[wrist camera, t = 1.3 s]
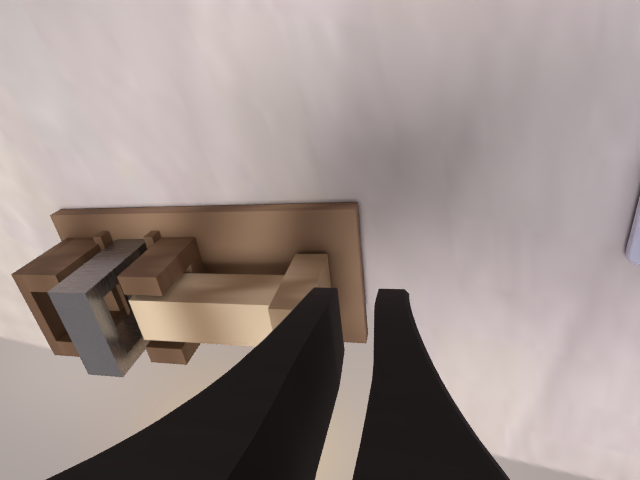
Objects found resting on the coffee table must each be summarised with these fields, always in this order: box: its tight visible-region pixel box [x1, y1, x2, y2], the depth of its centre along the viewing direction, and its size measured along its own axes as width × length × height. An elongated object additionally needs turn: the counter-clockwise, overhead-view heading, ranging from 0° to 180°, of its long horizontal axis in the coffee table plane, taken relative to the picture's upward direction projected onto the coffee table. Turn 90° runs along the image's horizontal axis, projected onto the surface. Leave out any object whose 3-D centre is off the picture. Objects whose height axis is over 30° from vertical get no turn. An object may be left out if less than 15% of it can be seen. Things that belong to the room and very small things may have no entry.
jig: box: [11, 202, 368, 365], centre depth 22 cm, size 17×8×5 cm, turn 97°
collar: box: [47, 239, 151, 377], centre depth 22 cm, size 2×5×5 cm, turn 7°
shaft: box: [128, 254, 331, 346], centre depth 20 cm, size 9×4×4 cm, turn 97°
